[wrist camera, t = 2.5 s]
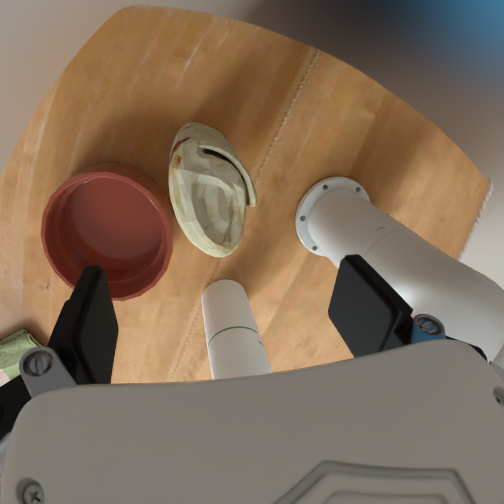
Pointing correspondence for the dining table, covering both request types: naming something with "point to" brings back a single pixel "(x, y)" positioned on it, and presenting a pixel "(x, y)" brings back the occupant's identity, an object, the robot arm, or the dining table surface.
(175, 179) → the food model
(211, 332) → the cylindrical container
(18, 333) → the washcloth
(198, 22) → the dining table surface
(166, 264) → the bowl
